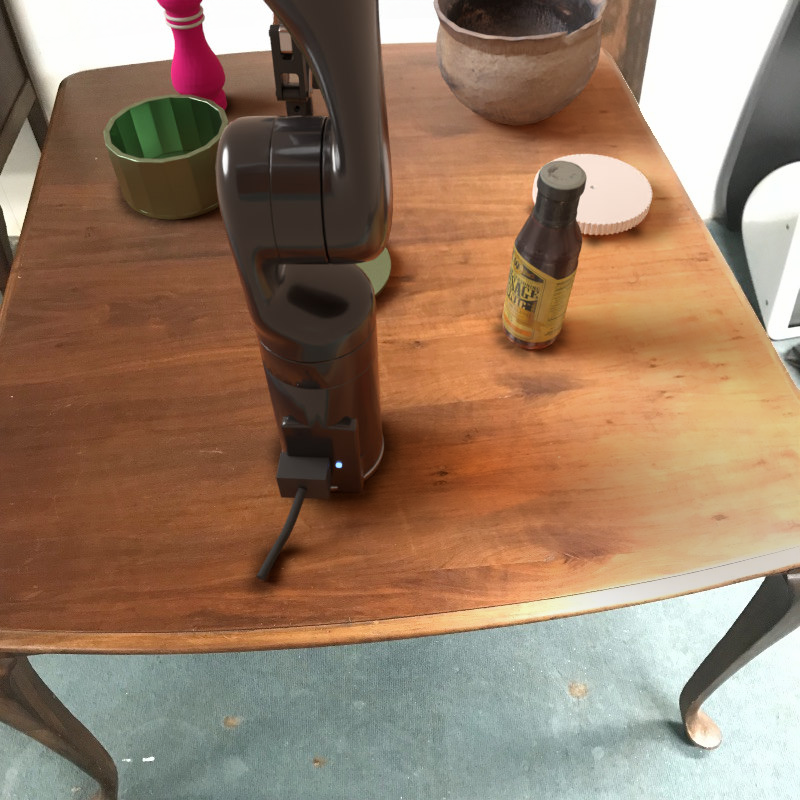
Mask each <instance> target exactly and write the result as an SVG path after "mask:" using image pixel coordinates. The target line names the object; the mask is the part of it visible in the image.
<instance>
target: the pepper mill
mask: <svg viewBox="0 0 800 800" xmlns="http://www.w3.org/2000/svg"><path fill="white" fill-rule="evenodd" d="M156 1H157V3H158V5H159V6H160V7H162V8H163V9H164V11H163V16H164V18H165V20H164V21H165V24H166V25H167V26H168V27H169V28H170V29H171V32H172V35H173V42H174V49H173V55H172V61H171V66H170V78H171V84H172V87H173V89H174V90H175V92H177V93H178V95H194V96H198V97H201V98H205V99H209V100H212V101H213V102H214V103H216V104H217V105H218V106H220V107H221V108H223V109H224V111H225V110H226V109H227V106H228V101H227V97H226V92H225V89H223V88H224V86H225V83H226V73H225V70H224V67H223V64H222V63H221V61H220V59H219V58H218V57H217V55H216V53H215V52H214V51H213V49H212V48H211V46H210V45H209V43H208V41H207V39H206V35H205V32H204V26H203V23H204V21H205V19H206V16H205V13H204V8H203V6H202V5H201V4H202V2H203V0H156Z"/></svg>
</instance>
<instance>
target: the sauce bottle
mask: <svg viewBox="0 0 800 800" xmlns="http://www.w3.org/2000/svg"><path fill="white" fill-rule="evenodd" d="M552 161H553V162H549V163H548V162H547V163H545V164H544V165H543V166H541V168H542V169H541V168H540V169H541V170H540V169H539V170H540V172H539V171H538V172H539V176H538V180H537V188H538V192H537V197H536V203H535V205H533V210H532V211H531V212H530V214H529V216H528V218H527V219H526V221H525V222H524V224H523V226H522V228H521V229H520V230H519V232H518V234H517V236H516V238H515V239H514V242H513V248H512V253H511V261H510V266H509V272H508V278H507V285H506V291H505V297H504V304H503V309H502V315H501V316H502V317H501V318H502V319H501V320H502V331H503V334H504V335H505V338H507V339H508V340H509V341H510V342H511V343H512V344H513V345H516V346H517V347H518V348H521V349H524V350H541V349H545V348H547V347H548V346H551V345H552V344H553V343H554V342H555V341H556V340H557V339H558V337H559V335H560V334H561V331H562V328H563V324H564V320H565V316H566V313H567V309H568V305H569V301H570V297H571V293H572V289H573V285H574V282H575V278H576V274H577V270H578V267H579V258H580V253H581V251H582V247H583V233H581V230H580V227H579V225H578V223H577V220H576V217H577V208H578V204H579V200H580V196H581V195H582V194H583V192H584V190H585V185H586V179H587V178H586V173H585V171H584V170H583V169H582V168H581V167H580V166H578V165H577V164H574V163H572V162H567V161H554V160H552Z"/></svg>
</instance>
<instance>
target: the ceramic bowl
mask: <svg viewBox="0 0 800 800" xmlns="http://www.w3.org/2000/svg"><path fill="white" fill-rule="evenodd" d="M610 1H611V0H433V8H434V10H435V13H436V15H437V18H438V21H439V25H438V29H437V32H436V42H435V48H436V49H435V54H436V62H437V66H438V69H439V73H440V75H441V77H442V79H443V81H444V83H445V84H446V85H447V87H448V89H449V90H450V91H451V93H452V94H453V96H454V97H455V98H456V100H457V101H458V102H460V103H461V104H462V105H463V106H465V107H466V108H467V109H468V110H470V111H471V112H473V113H474V114H476V115H478V116H480V117H481V118H484V119H486V120H488V121H491V122H495V123H497V124H503V125H509V126H510V125H511V126H522V125H529V124H530V125H531V124H535V123H539V122H541V121H544V120H546V119H548V118H551V117H554V116H555V115H557V114H559V113H560V112H562V111H563V110H564V109H565V108H566V107H567V106H569V105H570V104H571V103H572V102H573V101H575V100H576V99H577V98H578V97H579V96H580V95H581V94H582V92H583V91H584V90H585V88H586V87H587V86H588V84H589V82H590V80H591V78H592V77H593V75H594V73H595V71H596V69H597V66H598V63H599V60H600V56H601V55H600V53H601V47H602V40H603V39H602V38H603V36H602V35H603V34H602V32H603V31H602V29H603V28H602V22H603V19H604V18H605V16H606V12H607V10H608V7H609V4H610Z"/></svg>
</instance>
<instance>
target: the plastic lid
mask: <svg viewBox="0 0 800 800" xmlns="http://www.w3.org/2000/svg"><path fill="white" fill-rule="evenodd" d="M553 161H567V162H572V163H574V164H577V165H578V166H580V167H581V168H582V169H583V170H584V171H585V173H586V178H587V179H586V185H585V190H584V192H583V194H582V195H581V196H580V200H579V204H578V208H577V217H576V220H577V223H578V225H579V227H580V230H581V233H582V234H584V235H589V236H592V235H595V236H598V235H600V236H604V235H605V236H609V235H614V234H619V233H623V232H624V231H628V230H631V229H632V228H635V227H636V226H638V225H639V224H640V223H642V221H644V220H645V218H646V217H647V215H648V214H649V211H650V208H651V204H652V200H653V189H652V188H653V187H652V186H651V183H650V181H649V180H648V178H647V176H645V175H644V174H642V171H639V169H638V168H636V167H635V166H632V165H631V163H630V164H629V163H628V162H626V161H623V160H622V159H621V160H620V159H618V158H614V157H613V156H609V155H606V156H605V155H603V154H600V155H599V154H597V153H596V154H594V153H580V154H579V153H576V154H571V155H569V154H567V155H566V156H565V155H563V156H561V157H558V158H554V159H553V160H550V162H553ZM550 162H547V163H550ZM541 169H542V167H541V168H540V169H538V171H537V172H536V174H535V177H534V179H533V186H532V193H531V195H532V198H531V199H532V202H533V204H534V205H533V206H535V203H536V197H537V192H538V188H537V180H538V176H539V172H540V170H541Z"/></svg>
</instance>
